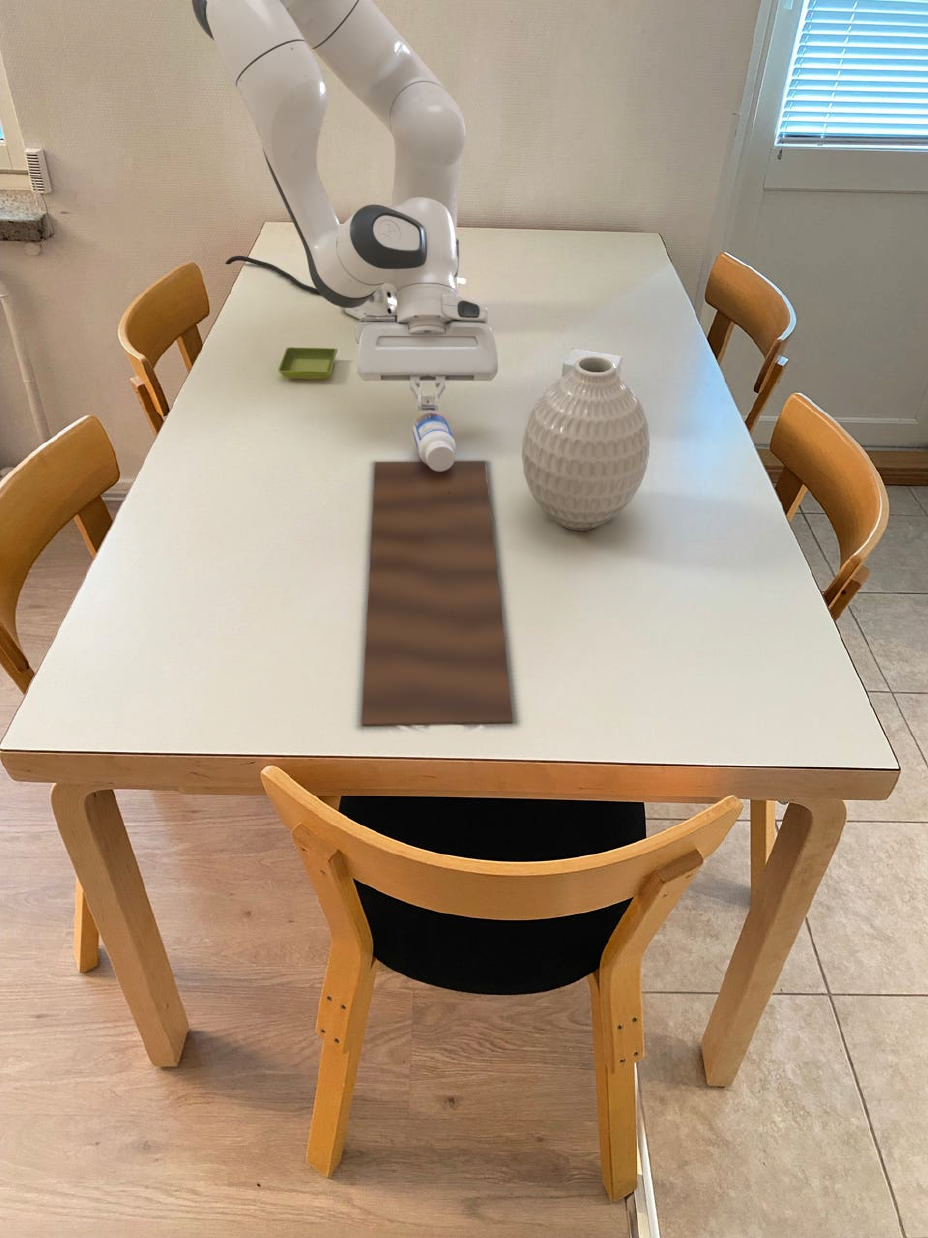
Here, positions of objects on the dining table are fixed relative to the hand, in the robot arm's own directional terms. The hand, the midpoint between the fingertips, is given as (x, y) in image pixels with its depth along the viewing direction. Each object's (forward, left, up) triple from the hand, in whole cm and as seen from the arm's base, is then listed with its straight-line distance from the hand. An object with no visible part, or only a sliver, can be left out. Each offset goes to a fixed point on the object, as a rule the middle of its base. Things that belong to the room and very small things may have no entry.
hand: (427, 409), depth 139 cm
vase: (+26, -2, -7) cm, 27 cm away
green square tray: (-31, +9, -7) cm, 33 cm away
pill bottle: (-1, +2, -4) cm, 5 cm away
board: (+17, -23, -7) cm, 30 cm away
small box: (+15, +21, -7) cm, 27 cm away
